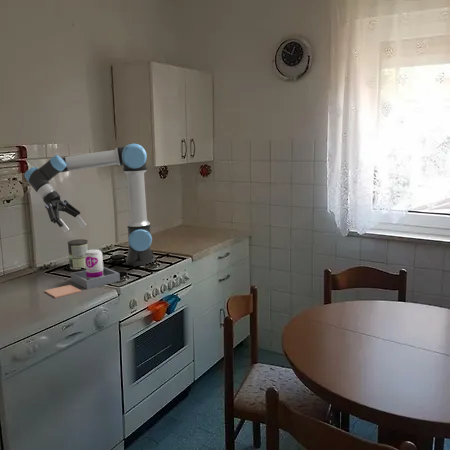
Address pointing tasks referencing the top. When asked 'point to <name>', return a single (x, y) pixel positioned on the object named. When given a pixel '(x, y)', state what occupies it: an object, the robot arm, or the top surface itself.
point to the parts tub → (108, 278)
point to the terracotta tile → (62, 291)
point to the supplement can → (94, 264)
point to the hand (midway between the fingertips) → (76, 228)
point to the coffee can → (77, 253)
